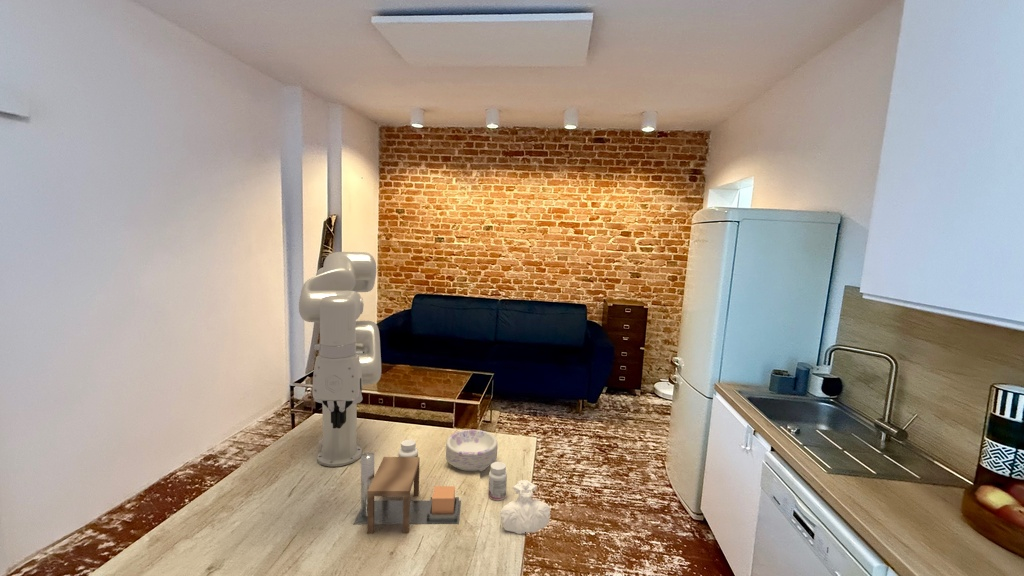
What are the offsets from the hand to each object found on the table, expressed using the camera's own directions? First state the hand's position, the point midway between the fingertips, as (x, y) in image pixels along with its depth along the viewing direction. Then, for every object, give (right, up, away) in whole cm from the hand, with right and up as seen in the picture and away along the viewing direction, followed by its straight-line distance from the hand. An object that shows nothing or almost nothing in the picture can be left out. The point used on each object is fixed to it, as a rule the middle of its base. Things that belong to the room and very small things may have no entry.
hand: (338, 425), depth 99 cm
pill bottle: (+37, -23, +13) cm, 45 cm away
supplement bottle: (+11, -21, +21) cm, 32 cm away
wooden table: (+16, -23, +3) cm, 28 cm away
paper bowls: (+29, -21, +28) cm, 45 cm away
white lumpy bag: (+44, -24, +1) cm, 50 cm away
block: (+24, -22, +3) cm, 33 cm away
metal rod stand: (+16, -23, +3) cm, 28 cm away
